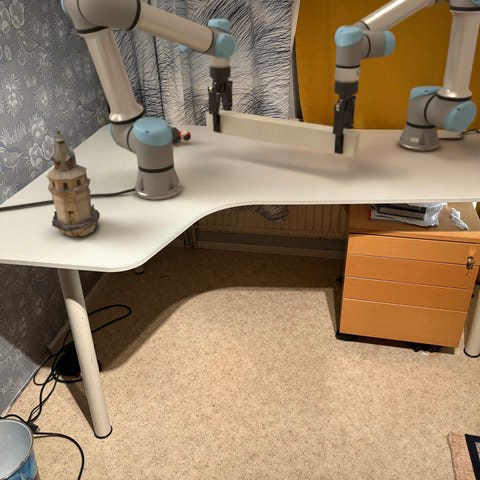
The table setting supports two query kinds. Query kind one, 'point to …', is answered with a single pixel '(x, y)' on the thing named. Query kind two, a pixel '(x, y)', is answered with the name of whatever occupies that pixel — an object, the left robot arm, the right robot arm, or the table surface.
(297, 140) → the bar
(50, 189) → the miniature building
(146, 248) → the table surface
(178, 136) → the toy
